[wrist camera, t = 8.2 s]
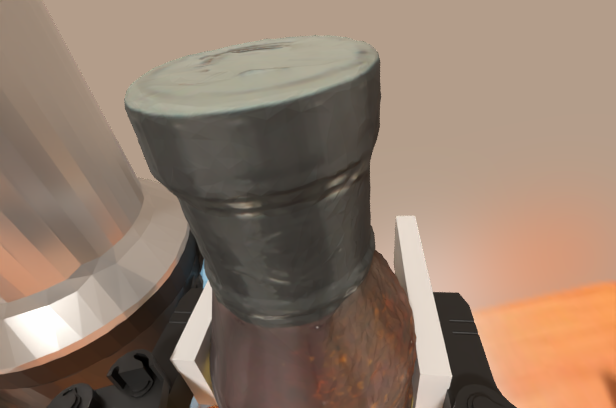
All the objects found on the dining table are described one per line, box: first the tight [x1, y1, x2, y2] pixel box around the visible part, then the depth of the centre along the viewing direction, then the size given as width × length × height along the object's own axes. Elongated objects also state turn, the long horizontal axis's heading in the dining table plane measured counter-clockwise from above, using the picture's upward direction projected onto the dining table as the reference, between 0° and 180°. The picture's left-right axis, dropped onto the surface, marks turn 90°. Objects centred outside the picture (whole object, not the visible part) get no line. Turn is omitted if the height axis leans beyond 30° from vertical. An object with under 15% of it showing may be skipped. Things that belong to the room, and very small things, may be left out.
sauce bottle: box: [124, 35, 417, 408], centre depth 11 cm, size 7×6×20 cm
